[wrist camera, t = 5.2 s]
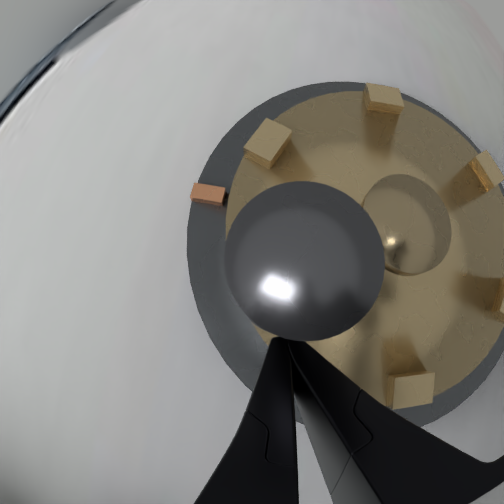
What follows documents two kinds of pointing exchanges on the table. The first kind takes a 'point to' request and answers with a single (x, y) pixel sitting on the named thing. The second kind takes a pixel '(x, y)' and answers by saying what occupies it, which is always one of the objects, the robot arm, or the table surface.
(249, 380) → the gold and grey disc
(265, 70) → the table surface
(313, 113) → the gold wheel with handle
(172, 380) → the table surface
